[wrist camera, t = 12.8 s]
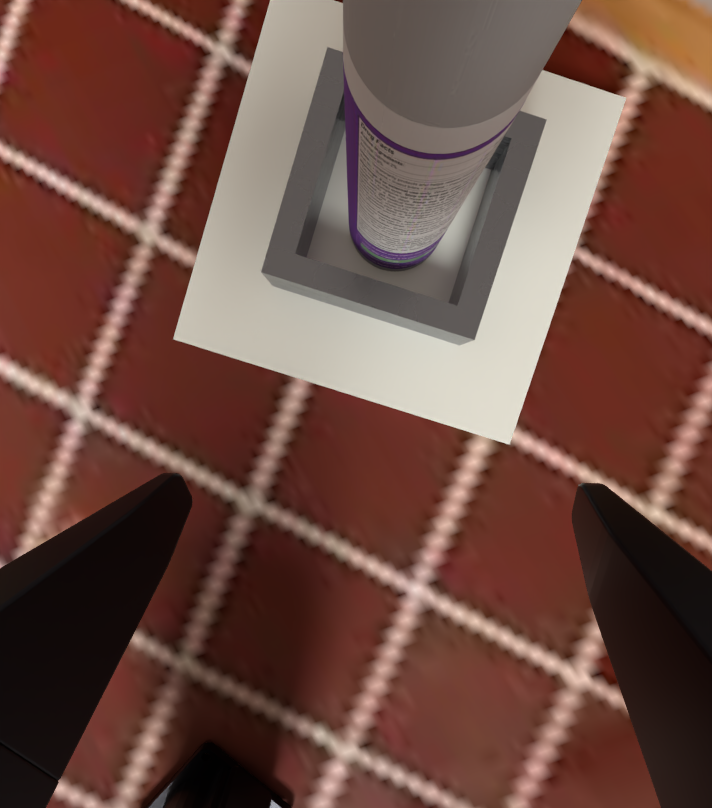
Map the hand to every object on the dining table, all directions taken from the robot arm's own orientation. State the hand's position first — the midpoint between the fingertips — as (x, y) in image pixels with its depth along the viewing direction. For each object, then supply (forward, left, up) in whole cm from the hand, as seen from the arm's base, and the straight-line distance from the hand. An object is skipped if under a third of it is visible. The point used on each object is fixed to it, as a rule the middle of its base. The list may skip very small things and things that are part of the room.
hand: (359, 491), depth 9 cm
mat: (+9, +6, -12) cm, 16 cm away
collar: (+9, +6, -12) cm, 16 cm away
